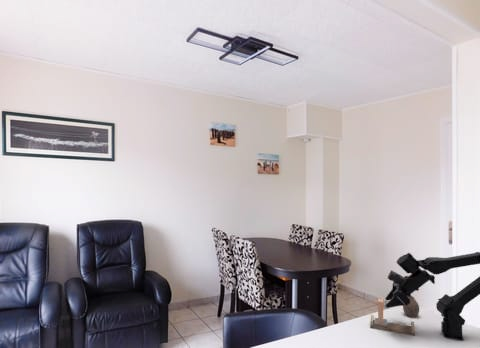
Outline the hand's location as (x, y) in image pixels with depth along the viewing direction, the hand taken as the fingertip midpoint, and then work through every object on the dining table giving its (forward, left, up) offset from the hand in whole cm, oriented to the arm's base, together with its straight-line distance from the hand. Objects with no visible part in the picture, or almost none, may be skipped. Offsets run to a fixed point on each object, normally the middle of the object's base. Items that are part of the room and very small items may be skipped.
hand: (386, 303), depth 140 cm
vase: (-11, -19, -11) cm, 24 cm away
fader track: (-2, 0, -11) cm, 11 cm away
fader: (+2, 0, -9) cm, 9 cm away
